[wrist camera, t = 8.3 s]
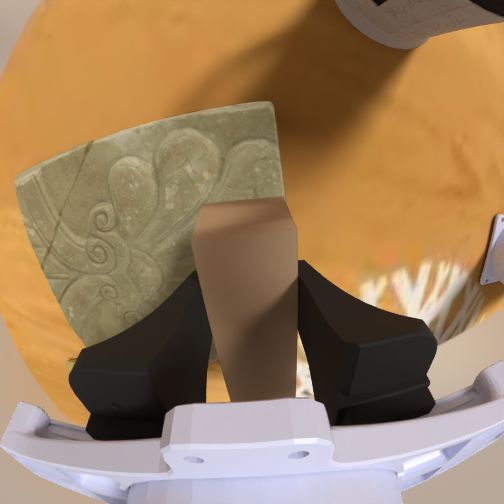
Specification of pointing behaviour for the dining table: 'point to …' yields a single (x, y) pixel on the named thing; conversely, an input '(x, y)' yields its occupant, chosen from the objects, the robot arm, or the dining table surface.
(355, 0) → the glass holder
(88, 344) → the decorative tile
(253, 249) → the walnut stick
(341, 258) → the dining table surface
